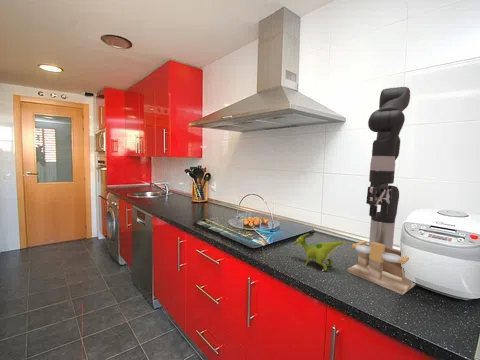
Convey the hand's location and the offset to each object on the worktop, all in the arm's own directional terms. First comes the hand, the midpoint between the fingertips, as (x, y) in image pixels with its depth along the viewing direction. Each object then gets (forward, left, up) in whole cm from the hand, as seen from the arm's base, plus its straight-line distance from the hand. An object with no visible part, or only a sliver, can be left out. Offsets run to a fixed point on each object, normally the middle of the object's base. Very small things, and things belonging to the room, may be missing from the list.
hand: (378, 215), depth 86 cm
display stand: (-5, +1, -24) cm, 25 cm away
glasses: (-3, +1, -16) cm, 17 cm away
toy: (+6, -19, -25) cm, 32 cm away
